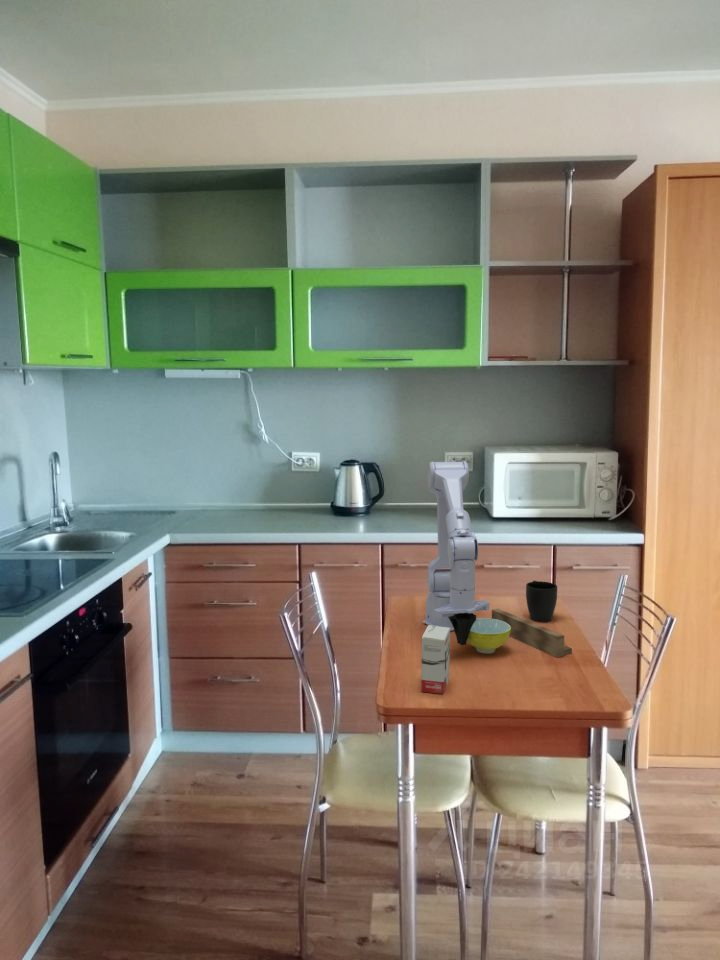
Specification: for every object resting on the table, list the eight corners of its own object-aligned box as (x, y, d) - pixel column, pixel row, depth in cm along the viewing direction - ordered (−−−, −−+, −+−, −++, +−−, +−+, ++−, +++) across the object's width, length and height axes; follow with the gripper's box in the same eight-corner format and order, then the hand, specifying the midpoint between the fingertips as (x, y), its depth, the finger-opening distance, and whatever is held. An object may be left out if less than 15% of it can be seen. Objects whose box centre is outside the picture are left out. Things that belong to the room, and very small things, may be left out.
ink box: (444, 694, 142) (444, 639, 141) (420, 692, 144) (420, 637, 142) (450, 678, 150) (450, 625, 149) (427, 676, 152) (427, 624, 150)
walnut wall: (491, 628, 183) (491, 609, 182) (506, 625, 185) (506, 606, 185) (557, 657, 162) (557, 636, 161) (573, 653, 164) (573, 633, 164)
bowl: (500, 662, 159) (501, 636, 158) (454, 653, 165) (454, 628, 164) (516, 647, 169) (517, 622, 168) (472, 639, 175) (472, 615, 174)
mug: (549, 610, 198) (550, 577, 197) (559, 624, 186) (560, 589, 185) (520, 610, 198) (521, 577, 197) (528, 623, 186) (529, 589, 185)
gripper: (446, 595, 155) (446, 654, 156) (498, 587, 162) (497, 643, 163) (428, 588, 161) (428, 645, 163) (479, 580, 168) (478, 634, 169)
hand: (461, 643), depth 163 cm, fingers closed
